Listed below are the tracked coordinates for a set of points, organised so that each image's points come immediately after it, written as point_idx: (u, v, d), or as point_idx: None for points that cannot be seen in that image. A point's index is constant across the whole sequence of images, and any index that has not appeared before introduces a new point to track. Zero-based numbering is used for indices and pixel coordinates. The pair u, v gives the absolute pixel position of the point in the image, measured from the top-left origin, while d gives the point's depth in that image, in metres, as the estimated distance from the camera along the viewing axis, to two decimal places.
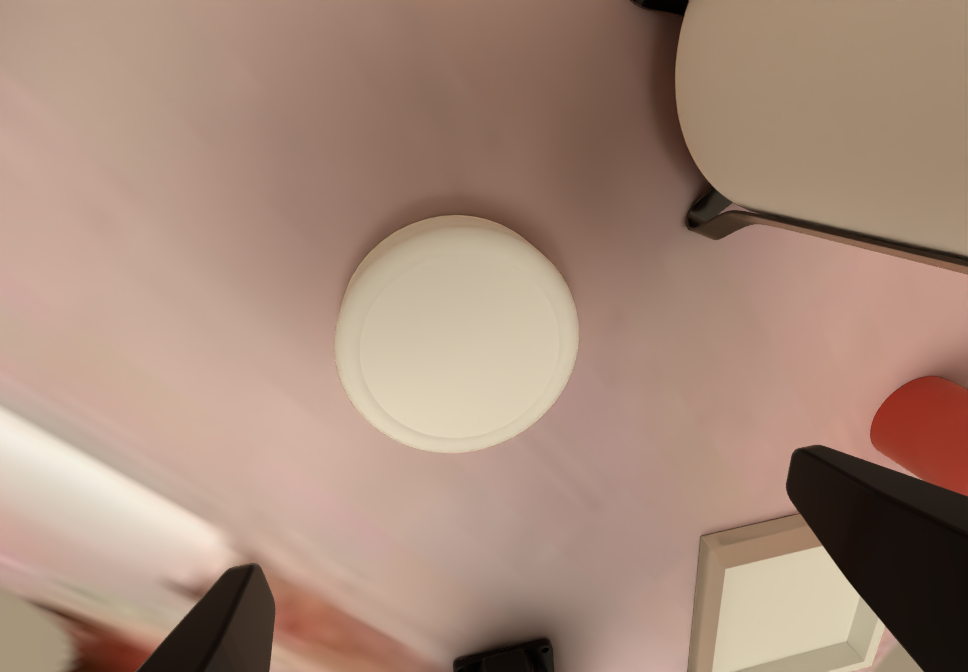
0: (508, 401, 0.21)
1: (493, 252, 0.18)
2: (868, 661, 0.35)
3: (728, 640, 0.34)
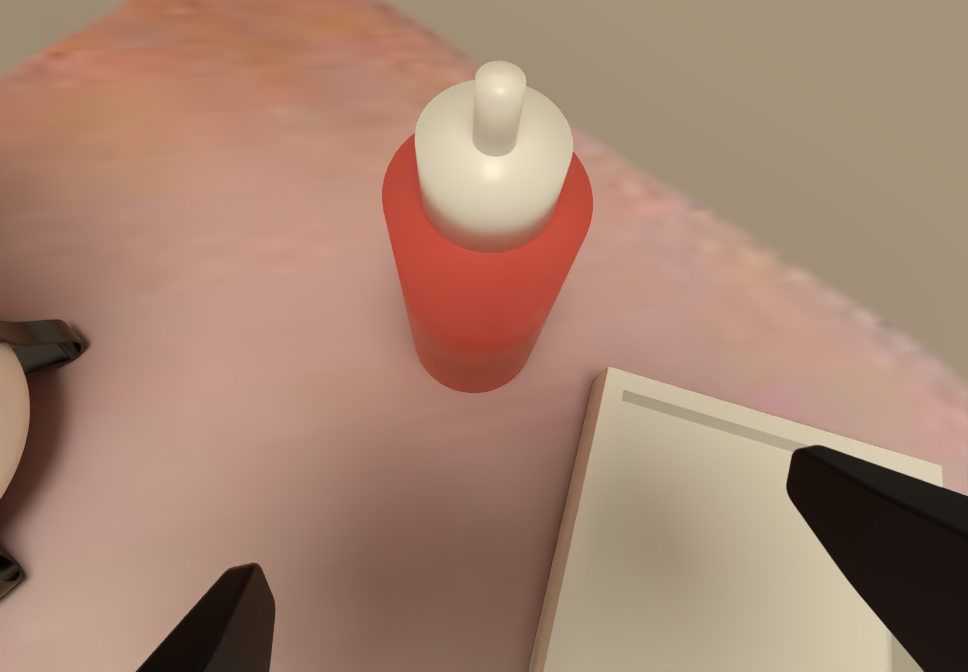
0: None
1: None
2: (925, 470, 0.20)
3: None
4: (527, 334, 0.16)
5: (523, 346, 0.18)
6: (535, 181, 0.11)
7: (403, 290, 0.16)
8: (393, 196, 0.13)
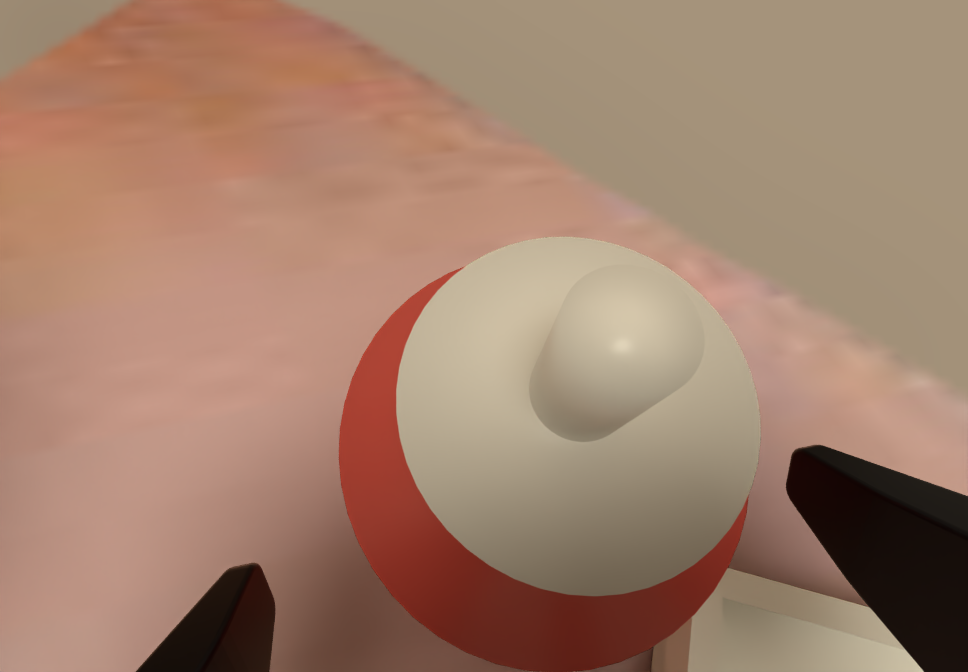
0: None
1: None
2: None
3: None
4: None
5: None
6: (688, 509, 0.04)
7: None
8: (361, 449, 0.06)
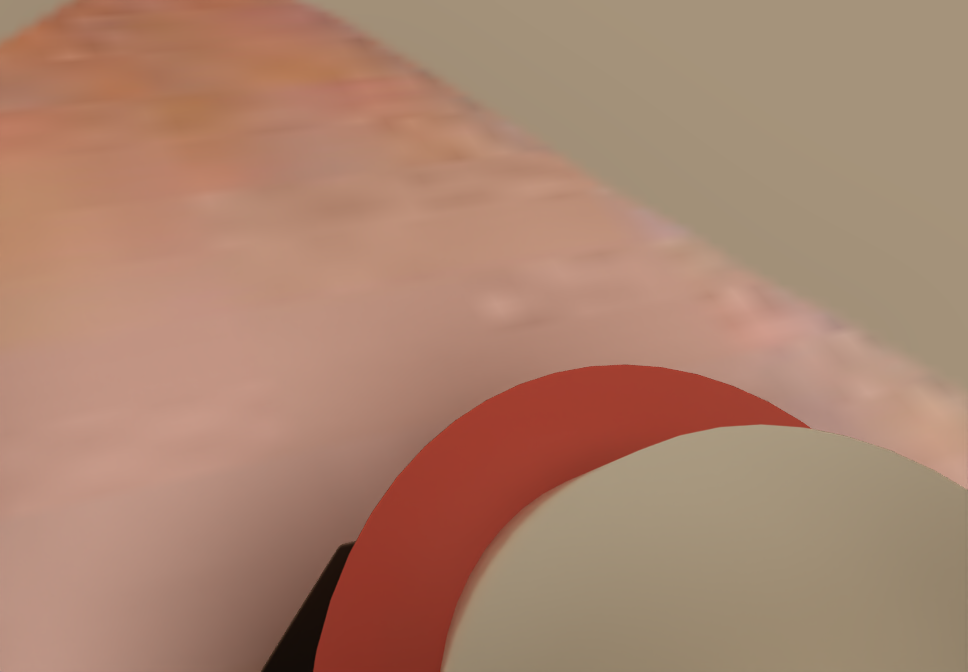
0: None
1: None
2: None
3: None
4: None
5: None
6: None
7: None
8: None
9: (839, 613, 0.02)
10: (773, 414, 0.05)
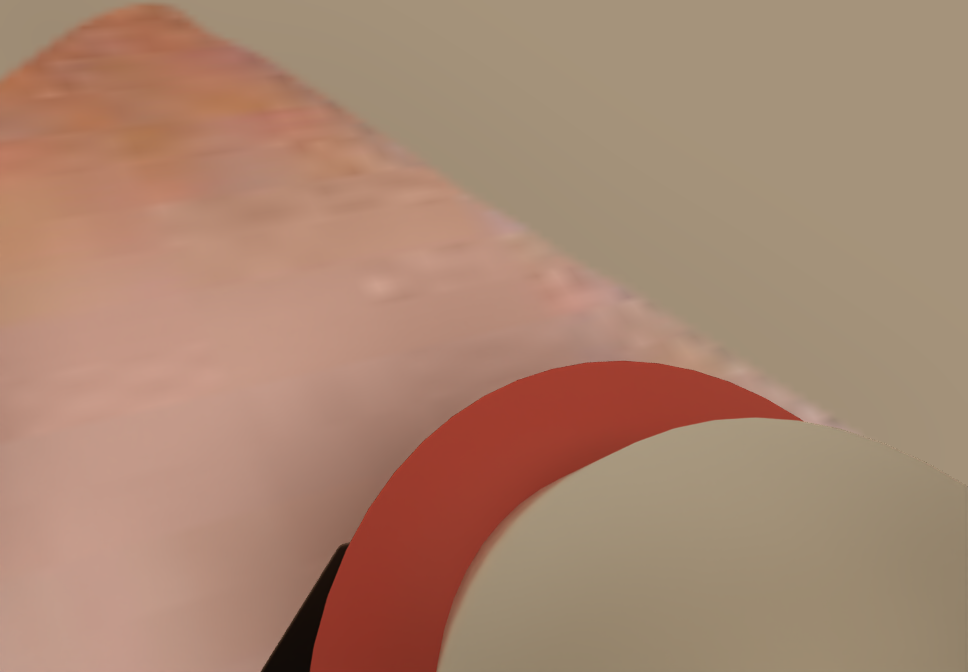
0: None
1: None
2: None
3: None
4: None
5: None
6: None
7: None
8: None
9: (832, 604, 0.02)
10: (768, 410, 0.05)
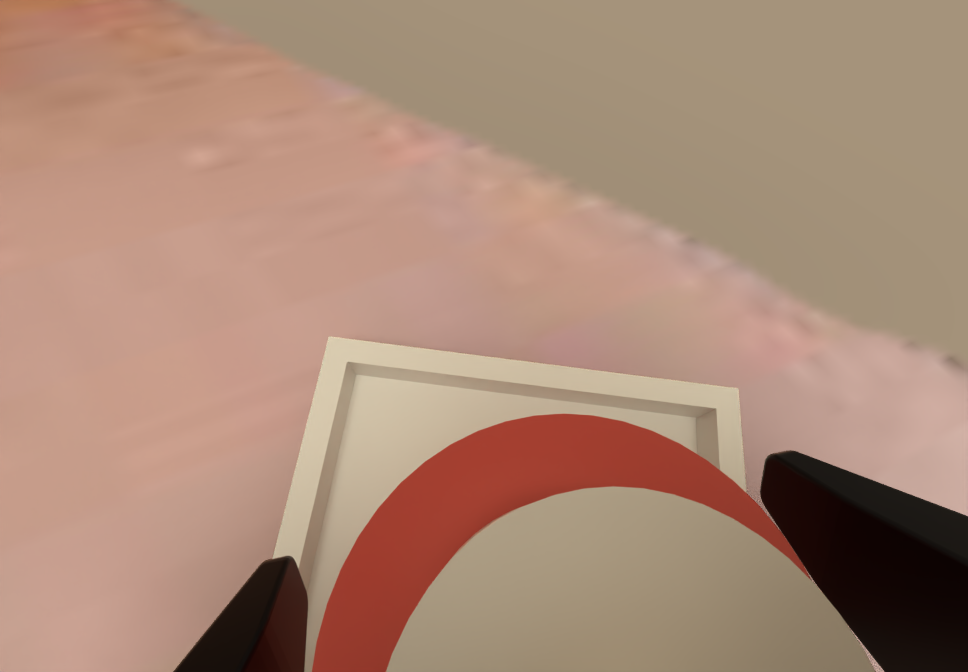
0: None
1: None
2: (719, 396, 0.16)
3: None
4: None
5: None
6: None
7: None
8: None
9: (650, 619, 0.03)
10: (686, 453, 0.06)
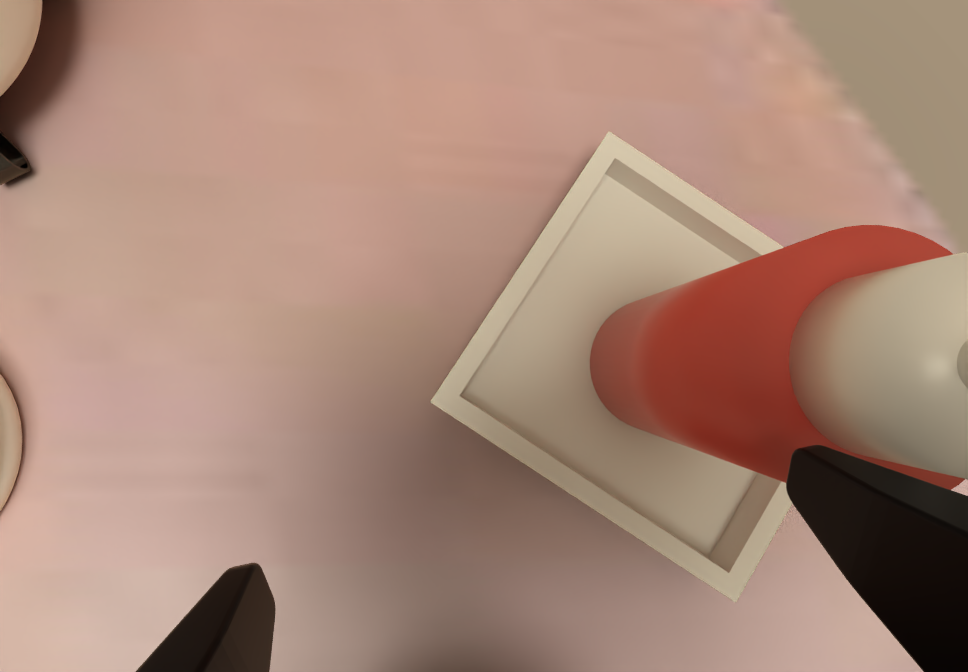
0: None
1: None
2: None
3: (649, 479, 0.20)
4: None
5: None
6: None
7: (660, 361, 0.13)
8: (760, 319, 0.09)
9: None
10: None
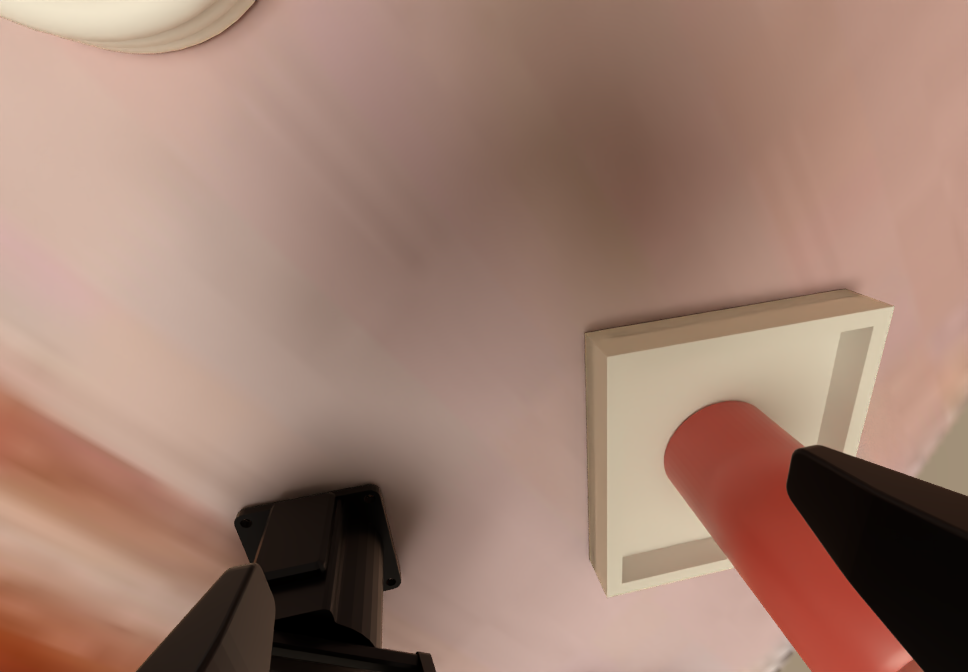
0: None
1: None
2: None
3: (636, 500, 0.25)
4: None
5: None
6: None
7: (810, 530, 0.17)
8: None
9: None
10: None
